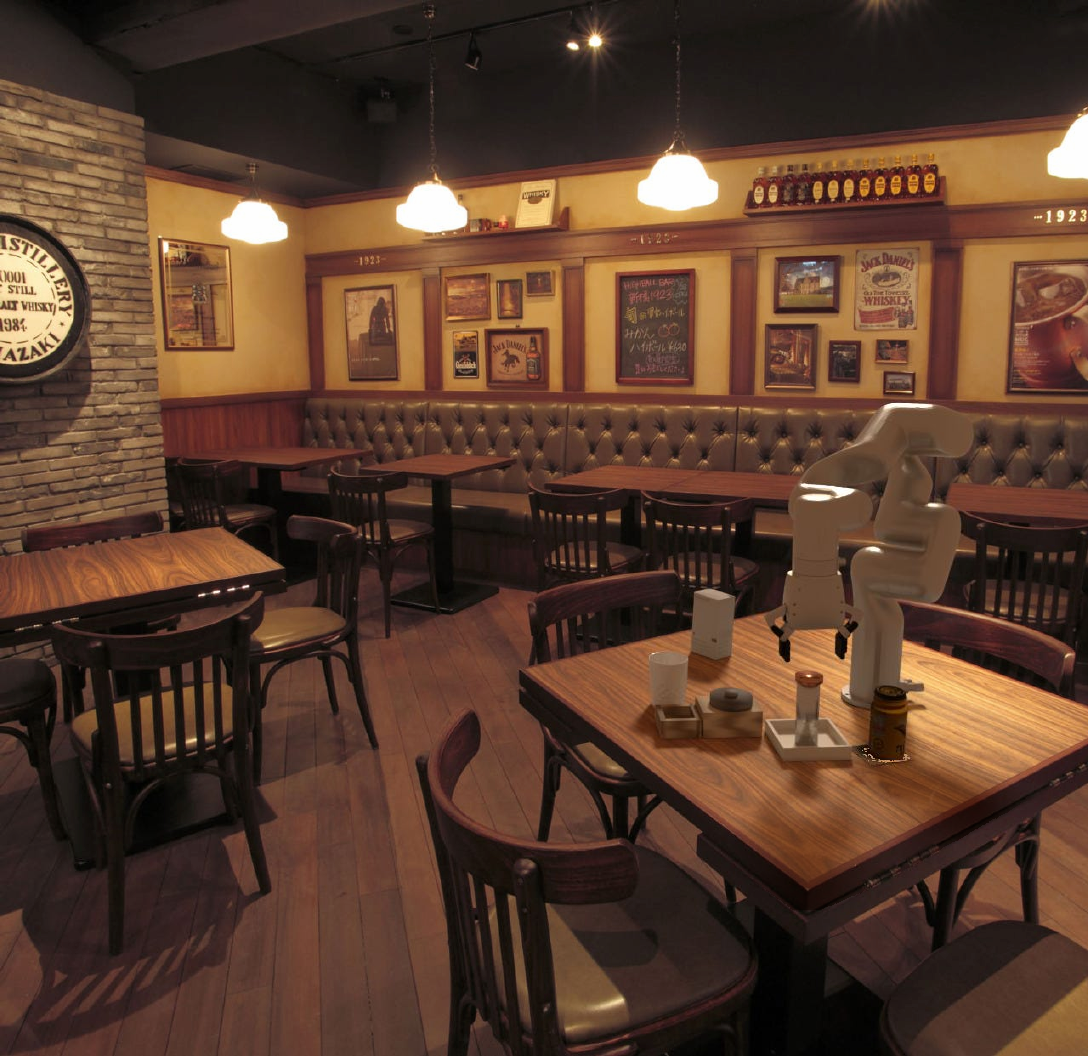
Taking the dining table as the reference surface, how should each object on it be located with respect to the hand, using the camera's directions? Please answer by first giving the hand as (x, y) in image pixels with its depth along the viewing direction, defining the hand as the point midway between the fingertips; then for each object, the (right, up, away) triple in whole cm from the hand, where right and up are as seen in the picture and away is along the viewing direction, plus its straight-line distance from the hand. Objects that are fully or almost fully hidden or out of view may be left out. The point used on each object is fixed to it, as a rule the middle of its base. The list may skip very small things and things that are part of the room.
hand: (812, 658), depth 154 cm
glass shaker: (0, -16, +2) cm, 16 cm away
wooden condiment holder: (-16, -15, +10) cm, 24 cm away
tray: (0, -16, +3) cm, 16 cm away
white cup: (-23, -13, +22) cm, 34 cm away
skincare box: (-8, -7, +51) cm, 52 cm away
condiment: (+12, -17, -1) cm, 21 cm away
